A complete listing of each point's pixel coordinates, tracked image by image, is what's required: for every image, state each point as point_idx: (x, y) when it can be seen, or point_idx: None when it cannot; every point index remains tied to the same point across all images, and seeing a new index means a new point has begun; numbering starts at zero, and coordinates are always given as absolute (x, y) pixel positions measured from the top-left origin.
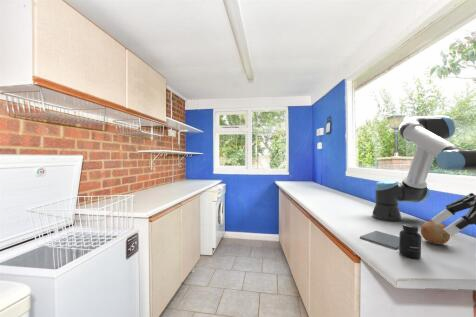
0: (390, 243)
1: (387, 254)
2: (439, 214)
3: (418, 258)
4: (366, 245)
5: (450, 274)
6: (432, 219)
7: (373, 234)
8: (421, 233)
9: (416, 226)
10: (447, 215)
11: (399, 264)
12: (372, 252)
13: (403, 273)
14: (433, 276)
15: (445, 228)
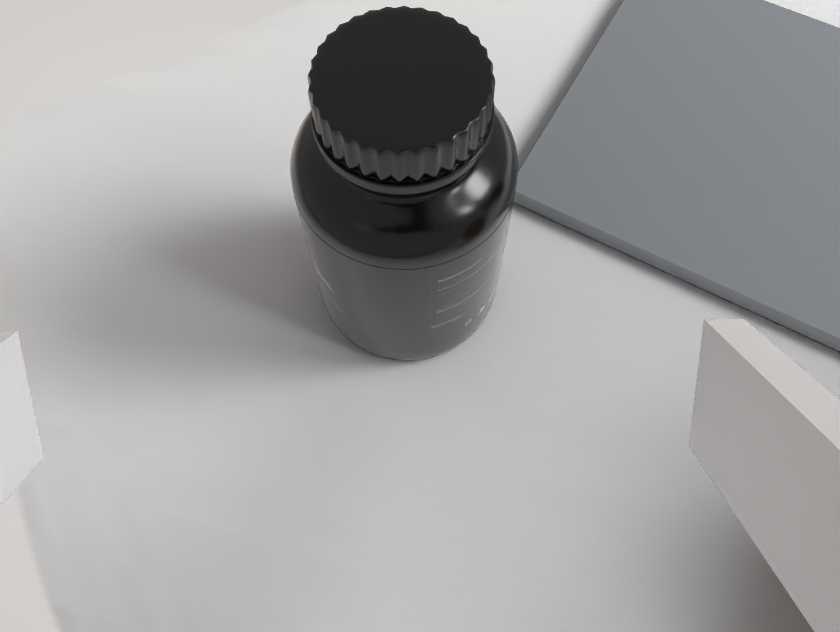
0: (606, 159)
1: None
2: (782, 405)
3: (345, 334)
4: (478, 11)
5: (99, 517)
6: (705, 333)
7: (801, 50)
8: None
9: (379, 132)
10: (817, 576)
11: (162, 187)
12: None
13: (2, 191)
14: None
15: None
